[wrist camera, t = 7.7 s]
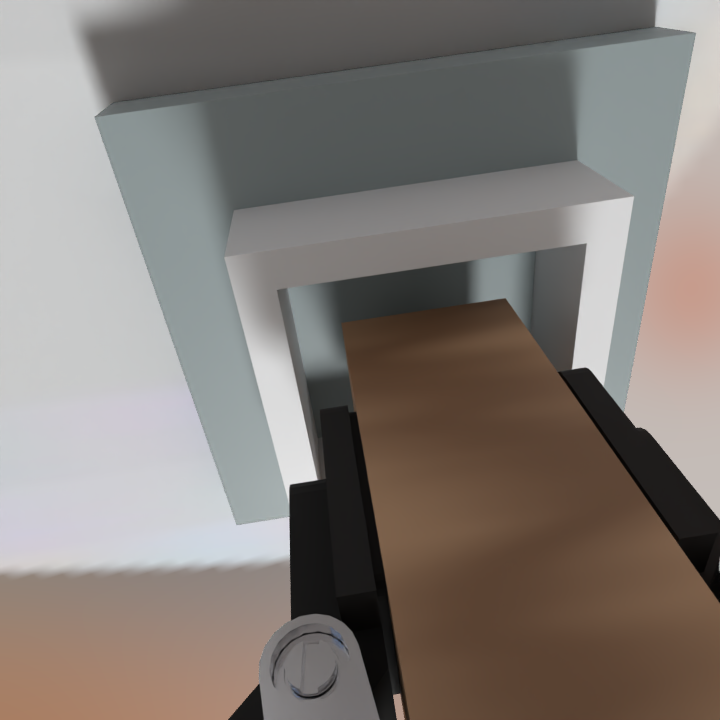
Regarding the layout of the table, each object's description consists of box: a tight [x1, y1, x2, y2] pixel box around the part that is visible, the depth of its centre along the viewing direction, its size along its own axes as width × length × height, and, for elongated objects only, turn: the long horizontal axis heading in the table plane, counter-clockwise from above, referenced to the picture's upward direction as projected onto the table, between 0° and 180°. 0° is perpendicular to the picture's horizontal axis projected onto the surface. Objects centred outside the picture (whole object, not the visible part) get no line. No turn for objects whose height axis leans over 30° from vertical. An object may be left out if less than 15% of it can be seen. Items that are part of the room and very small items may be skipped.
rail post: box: [341, 298, 720, 720], centre depth 9 cm, size 4×4×12 cm
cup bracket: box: [95, 27, 696, 525], centre depth 14 cm, size 12×12×4 cm
